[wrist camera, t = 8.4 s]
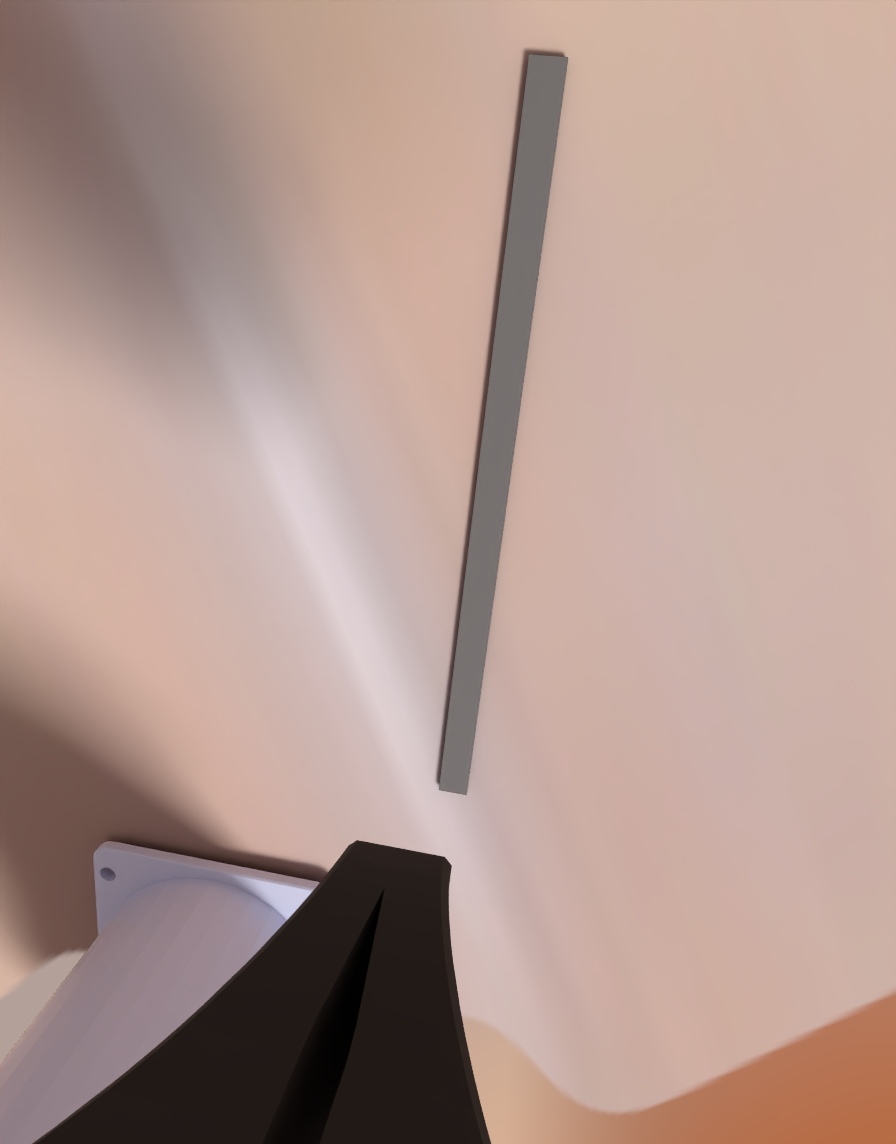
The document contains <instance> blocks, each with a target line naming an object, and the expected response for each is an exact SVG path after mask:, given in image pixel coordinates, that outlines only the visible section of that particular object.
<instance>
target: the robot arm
mask: <svg viewBox="0 0 896 1144" xmlns="http://www.w3.org/2000/svg"><path fill="white" fill-rule="evenodd" d="M93 863H94V879H95V894H96V910H97V926H98V937H97V938H96V940H95V941H94V942H93V944H92V945H91V946H90V947H89V949H88V950H87V951H86V953H85V954H84V955H83V957H82V958H81V959H80V961H79V962H78V963H77V964H76V966H75V967H74V968H73V970H72V971H71V972H70V974H69V975H68V976H67V977H66V979H65V980H64V982H63V983H62V984H61V985H60V987H59V988H58V989H57V990H56V992H55V993H54V994H53V996H52V997H51V998H50V1000H49V1001H48V1002H47V1004H46V1005H45V1006H44V1007H43V1009H42V1010H41V1011H40V1013H39V1014H38V1015H37V1017H36V1018H35V1019H34V1021H33V1022H32V1023H31V1025H30V1026H29V1027H28V1028H27V1030H26V1031H25V1032H24V1034H23V1035H22V1036H21V1038H20V1039H19V1040H18V1041H17V1043H16V1044H15V1045H14V1047H13V1048H12V1049H11V1050H10V1052H9V1053H8V1054H7V1056H6V1057H5V1058H4V1060H3V1061H2V1062H1V1064H0V1144H491V1142H490V1138H489V1134H488V1131H487V1127H486V1123H485V1120H484V1116H483V1112H482V1108H481V1104H480V1100H479V1096H478V1091H477V1087H476V1083H475V1079H474V1075H473V1070H472V1066H471V1061H470V1057H469V1051H468V1047H467V1042H466V1037H465V1032H464V1027H463V1021H462V1016H461V1011H460V1005H459V998H458V991H457V985H456V978H455V972H454V965H453V957H452V948H451V938H450V924H449V882H450V874H451V867H452V866H451V864H450V863H449V862H448V861H447V859H446V858H445V857H442V856H437V855H432V854H427V853H421V852H416V851H411V850H406V849H400V848H395V847H390V846H385V845H379V844H374V843H369V842H364V841H358V840H357V841H355V842H354V843H352V844H350V845H349V846H348V847H347V849H346V850H345V851H344V853H343V854H342V855H341V857H340V858H339V859H338V861H337V862H336V863H335V864H334V866H333V867H332V868H331V870H330V871H329V872H328V873H327V875H326V876H325V877H324V878H323V879H322V881H321V882H316V881H311V880H306V879H301V878H296V877H291V876H286V875H281V874H276V873H271V872H266V871H261V870H256V869H251V868H246V867H240V866H235V865H230V864H225V863H220V862H215V861H210V860H205V859H200V858H195V857H190V856H185V855H180V854H175V853H170V852H165V851H160V850H155V849H149V848H144V847H139V846H134V845H129V844H124V843H119V842H114V841H106V842H104V843H102V844H101V845H100V846H99V848H98V849H97V850H96V851H95V852H94V856H93ZM109 868H110V869H112V870H113V871H114V872H113V871H111V870H110V869H109Z"/></svg>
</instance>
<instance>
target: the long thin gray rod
mask: <svg viewBox="0 0 896 1144" xmlns="http://www.w3.org/2000/svg"><path fill="white" fill-rule="evenodd" d="M567 63H568V57H559V56H546V55H532V54H529V60H528V68H527V76H526V84H525V92H524V101H523V109H522V117H521V125H520V133H519V141H518V149H517V158H516V166H515V174H514V182H513V190H512V198H511V206H510V215H509V223H508V231H507V239H506V247H505V255H504V263H503V272H502V280H501V288H500V296H499V304H498V312H497V320H496V329H495V337H494V345H493V353H492V361H491V369H490V377H489V386H488V394H487V402H486V410H485V418H484V426H483V434H482V443H481V451H480V459H479V467H478V475H477V483H476V491H475V500H474V508H473V516H472V524H471V532H470V540H469V548H468V557H467V565H466V573H465V581H464V589H463V597H462V605H461V614H460V622H459V630H458V638H457V646H456V654H455V662H454V671H453V679H452V687H451V695H450V703H449V711H448V719H447V728H446V736H445V744H444V752H443V760H442V768H441V776H440V785H439V790H441V791H447V792H452V793H458V794H463V795H466V794H467V788H468V781H469V774H470V767H471V759H472V752H473V745H474V738H475V730H476V723H477V716H478V709H479V701H480V694H481V687H482V680H483V672H484V665H485V658H486V651H487V643H488V636H489V629H490V621H491V614H492V607H493V600H494V592H495V585H496V578H497V571H498V563H499V556H500V549H501V542H502V534H503V527H504V520H505V513H506V505H507V498H508V491H509V484H510V476H511V469H512V462H513V455H514V447H515V440H516V433H517V426H518V418H519V411H520V404H521V397H522V389H523V382H524V375H525V368H526V360H527V353H528V346H529V339H530V331H531V324H532V317H533V310H534V302H535V295H536V288H537V281H538V273H539V266H540V259H541V252H542V244H543V237H544V230H545V223H546V215H547V208H548V201H549V194H550V186H551V179H552V172H553V165H554V157H555V150H556V143H557V136H558V128H559V121H560V114H561V107H562V99H563V92H564V85H565V78H566V70H567Z"/></svg>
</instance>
